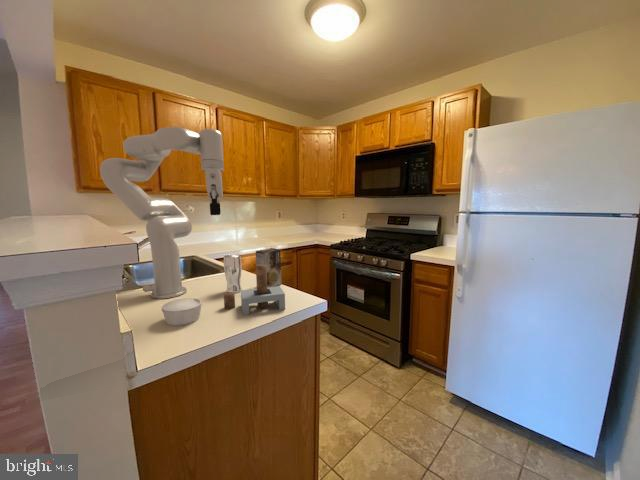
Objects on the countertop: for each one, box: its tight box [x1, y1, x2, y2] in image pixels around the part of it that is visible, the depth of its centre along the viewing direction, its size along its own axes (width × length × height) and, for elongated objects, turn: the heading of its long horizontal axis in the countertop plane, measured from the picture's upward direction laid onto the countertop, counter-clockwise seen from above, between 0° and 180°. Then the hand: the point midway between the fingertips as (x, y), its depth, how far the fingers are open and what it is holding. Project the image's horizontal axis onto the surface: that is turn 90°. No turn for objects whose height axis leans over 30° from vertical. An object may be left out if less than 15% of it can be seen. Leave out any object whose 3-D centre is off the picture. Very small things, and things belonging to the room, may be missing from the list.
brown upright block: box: [223, 292, 236, 310], centre depth 94 cm, size 4×4×5 cm
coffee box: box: [255, 247, 283, 288], centre depth 118 cm, size 9×6×16 cm
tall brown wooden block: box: [255, 264, 269, 310], centre depth 93 cm, size 4×4×15 cm
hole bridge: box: [240, 285, 286, 316], centre depth 94 cm, size 14×9×6 cm, turn 109°
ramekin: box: [161, 297, 203, 327], centre depth 85 cm, size 11×11×5 cm
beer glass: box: [223, 253, 243, 294], centre depth 111 cm, size 7×7×15 cm
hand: (215, 214), depth 98 cm, fingers open, 9 cm apart
